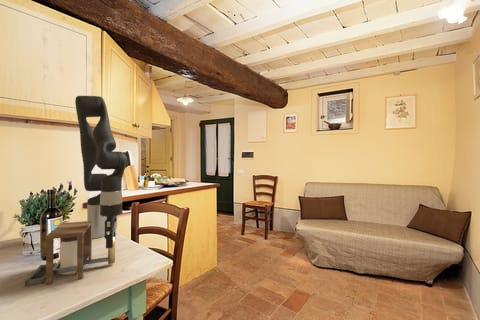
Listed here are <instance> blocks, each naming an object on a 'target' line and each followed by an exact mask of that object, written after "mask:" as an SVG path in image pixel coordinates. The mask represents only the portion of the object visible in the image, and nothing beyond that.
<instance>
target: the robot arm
mask: <svg viewBox="0 0 480 320" xmlns="http://www.w3.org/2000/svg"><path fill="white" fill-rule="evenodd" d="M74 103H75V110H76V111H75V112H76V116H77V120H78V121H77V122H78V128H79V137H80V149H81V157H82V164H83V165H82V167H83V186H84V190H85V191H86V192H100V193H99V194H98V195H94V196H93V197H89V198H87V205H86V206H87V208H86V209H87V213H86V215H87V217H86V219H87V220H86V221H92V239H100V238H104V239H105V249H108V248H112V247H113V237H114V236H115V240H116V235H117V233H116V231H117V227H118V218H117V217H118V216H119V215H122V213H123V193H122V188H123V187H122V184H123V183H122V181H123V178H124V177H123V176H124V173H125V170H126V167H127V163H128V158H127V155H126V153H124V152H123V151H115V150H116V149H117V143H116V139H115V138H114V137H115V136H114V135H113V132H112V130H111V124H110V119H109V114H108V109H107V104H106V102H105V99H104V98H103V97H102V96H98V95H77V96H75V101H74ZM87 118H99V120H98V122H97V124H96V125H95V127H94V129H93V128H92V126H91V125H90V124H89V122H88V119H87ZM95 166H96V167H98V168H99V169H101V170H113V172H112V173H111V174H107V173H92V171H93V170H94V168H95Z"/></svg>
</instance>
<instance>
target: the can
mask: <svg viewBox="0 0 480 320" xmlns="http://www.w3.org/2000/svg"><path fill="white" fill-rule="evenodd" d="M59 245H60V244H59ZM59 247H60V248H59V249H60V250H59V251H60V252H59V255H60V256H59V260H60V267H59V268H66V267H73V266H77V236H76V237H68V238H65V239H63V240H62V243H61V245H60V246H59ZM59 274H60V275H62V276H70V275H71V276H72V275H75V274H77V271H72V272H65V273H59Z"/></svg>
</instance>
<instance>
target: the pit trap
mask: <svg viewBox="0 0 480 320" xmlns="http://www.w3.org/2000/svg"><path fill="white" fill-rule="evenodd" d="M57 263H58V262H53V268H54V266H55V265H56V264H57ZM44 283H45V284H46V263H45V264H40V265H39V266H38V267H37V268H36V269H35V270H34V271H33V272H32V274H30V276H29V277H28V278H27V279H26V280H25V281H24V286H25V287H26V286H27V287H28V286H33V285H40V284H44Z"/></svg>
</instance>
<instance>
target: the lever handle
mask: <svg viewBox="0 0 480 320" xmlns="http://www.w3.org/2000/svg"><path fill="white" fill-rule="evenodd" d="M105 262H106V263H107V264H108V265H112V264H114V263H116V239H115V236H114V237H113V247H112V248H107V256H106V257H99V258H92V259H91V260H89V256H83V270H84V269H85V267H86V265H91V264H98V263H105ZM56 263H57V264H56V265H55V266H54V268H53V275H58V274H60V273H65V272H72V271H77V266H73V267H66V268H60V259H59V260H58V261H57V262H56Z"/></svg>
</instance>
